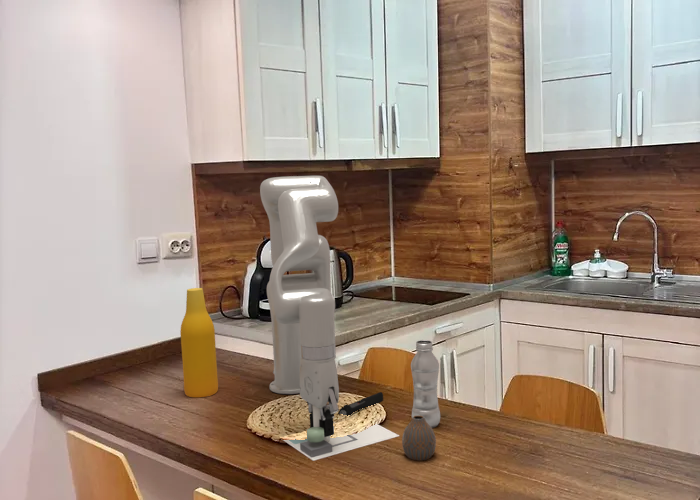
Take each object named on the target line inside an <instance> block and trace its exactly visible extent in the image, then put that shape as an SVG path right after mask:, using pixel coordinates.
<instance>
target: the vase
mask: <svg viewBox="0 0 700 500" xmlns="http://www.w3.org/2000/svg"><path fill="white" fill-rule="evenodd" d="M401 440H402V441H401V444H402V449H403V451H404V454H405V456H407V458H408V459H410V460H414V461H426V460H428V459H431V458H432V456H433V455H434V454H435V450H436V446H437V440H436V435H435V432H434V428H431V427H430V425H429V424H428V423H427V422H426V420H425V418H424V417H423V416H421V415H416V416H413V417H412V416H411V420H410V421H409V423H408V424H407V425H406V427H405V428H404V431H403V434H402V439H401Z"/></svg>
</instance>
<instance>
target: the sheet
mask: <svg viewBox="0 0 700 500" xmlns="http://www.w3.org/2000/svg"><path fill="white" fill-rule="evenodd" d="M397 437H400V434H398V433H395V432H394V431H391V430H389V429H388V428H385V427H383V426H382V425H380V424H377V423H376V424H375V425H373V426H371V427H369V428H368V429H366V430H364V431H362V432H360V433H357V434H353V435H347V436H344V437H336V438H330V439H331V440H330V442H328V443H330V444H331V445H332V452H330V453H326V454H323V455H319V456H316V457H310V456H309V455H307V454H306V453H304V452H303V451H301V450H300V443H303V442H307V441H308V440H307V439H305V440H296V439H295V440H282V441H283V442H285V443H287V444H288V445H289V446H291V447H292V448H294V449H295V450H297V451H298V452H300V453H301V454H303V455H304V456H306V458H308V459H310V460H311V461H312V462H313V461H317V460H320V459H325V458H327V457H331V456H336V455H338V454H342V453H345V452H348V451H352V450H355V449H359V448H363V447H366V446H370V445H373V444H377V443H380V442H383V441H387V440H390V439H394V438H397Z"/></svg>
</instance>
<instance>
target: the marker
mask: <svg viewBox="0 0 700 500" xmlns="http://www.w3.org/2000/svg"><path fill="white" fill-rule="evenodd" d="M328 403H329V401H328V402H327V404H328ZM324 409H325V411H326V410H327V409H329V407H328V408H324ZM319 419H321V415H320V408H318V407H316V406H314V405H313V426H314V427H319ZM324 440H325V441H327V442H330V440H331V439H330V436H327V437H324Z"/></svg>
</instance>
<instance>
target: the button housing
mask: <svg viewBox="0 0 700 500" xmlns="http://www.w3.org/2000/svg"><path fill="white" fill-rule="evenodd" d="M300 450H301V451H303V452H304V453H306V454H307V455H309V456H310V457H316V456H319V455H323V454H326V453H330V452H332V445H331V444H330V443H328V442H327V441H325V440H323V441H321V442H309V441H307V442H303V443H300Z"/></svg>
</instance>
